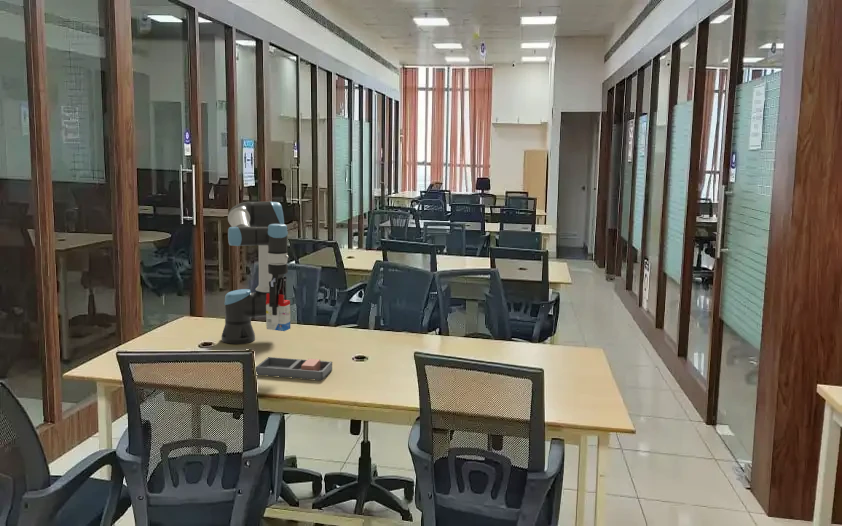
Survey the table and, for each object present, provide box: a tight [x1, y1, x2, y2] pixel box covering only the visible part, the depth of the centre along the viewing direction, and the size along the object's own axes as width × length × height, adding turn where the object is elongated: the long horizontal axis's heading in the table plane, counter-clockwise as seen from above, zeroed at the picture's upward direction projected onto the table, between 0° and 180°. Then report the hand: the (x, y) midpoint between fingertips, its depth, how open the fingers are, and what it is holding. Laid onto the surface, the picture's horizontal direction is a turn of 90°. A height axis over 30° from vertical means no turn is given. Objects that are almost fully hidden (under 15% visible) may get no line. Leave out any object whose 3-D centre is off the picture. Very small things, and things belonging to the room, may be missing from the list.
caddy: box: [255, 356, 333, 381], centre depth 274 cm, size 27×14×4 cm, turn 82°
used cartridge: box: [301, 358, 321, 371], centre depth 273 cm, size 5×9×4 cm, turn 172°
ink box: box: [265, 293, 291, 332], centre depth 271 cm, size 8×5×15 cm, turn 71°
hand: (278, 320), depth 272 cm, fingers closed on ink box, 5 cm apart
